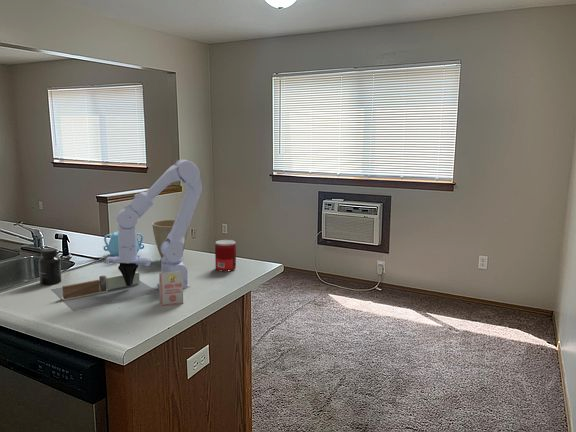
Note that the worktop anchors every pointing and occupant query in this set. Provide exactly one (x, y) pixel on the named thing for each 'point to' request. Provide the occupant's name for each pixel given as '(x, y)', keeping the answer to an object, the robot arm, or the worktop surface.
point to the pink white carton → (171, 288)
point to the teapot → (114, 245)
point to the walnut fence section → (84, 288)
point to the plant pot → (164, 232)
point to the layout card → (105, 296)
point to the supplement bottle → (49, 267)
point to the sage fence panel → (120, 281)
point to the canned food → (225, 255)
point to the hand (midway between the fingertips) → (129, 284)
